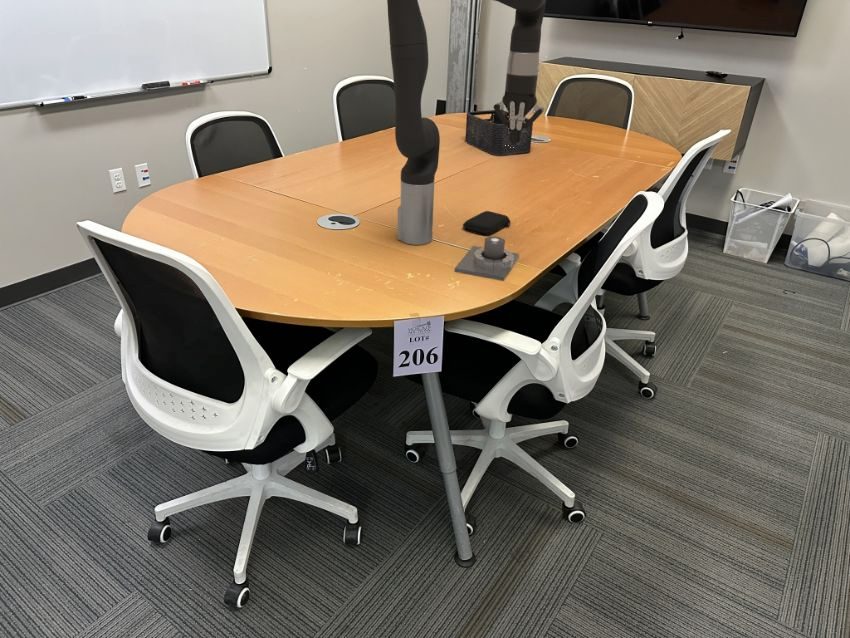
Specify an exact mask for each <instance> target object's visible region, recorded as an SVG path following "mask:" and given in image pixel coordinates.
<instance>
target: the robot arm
mask: <svg viewBox="0 0 850 638" xmlns="http://www.w3.org/2000/svg"><path fill="white" fill-rule="evenodd" d="M493 1H494V2H499V3H500V4H503V5H505V6H507V7H509V8H512V9H514V10H515V15H514V23H513V27H512V29H511V32H510V33H511V34H510V41H509V43H510V45H509V53H508V54H509V55H508V58H507V65H506V75H505V86H504V87H505V89H504V93H503V96H502V100H500V101H499V102H497V103H495V104H493V110H495V111H496V113H497V115H498V116H499V118H500V120H501V121H502V123H503V125H504V126H507V127H509V128H510V138H509V140H510V142H511V144H513V145H518V143H520V142H521V139H522V130H523V129H525V128H526V129H527V128H528V127H529V126H530V125H531V124H532V123H533V124H534V122H535V121H536V120H537V119H538V118H539V117H540V116H541V115H542V114H543V113H544V111H545V108H544V107H541V106H540V105H539V104H538V100H537V96H536V93H537V87H538V85H537V84H538V76H539V72H540V71H539V70H540V66H539V65H540V48H541V47H540V46H541V40H542V38H541V37H542V25H543V21H544V16H545V15H544V14H545V10H546V6H547V5H546V4H547V0H493ZM386 3H387V19H388V33H389V47H390V49H389V50H390V58H391V61H390V62H391V66H392V78H393V80H392V81H393V89H394V90H393V91H394V92H393V93H394V102H395V104H394V105H395V106H394V108H395V109H394V110H395V111H394V114H395V115H394V116H395V118H394V119H395V120H394V121H395V122H394V126H395V127H394V128H395V129H394V130H395V131H394V135H395V138H394V139H395V142H396V146H397V150H398V151H399V152H400V154H401V155H402V156H403V157H404V158H406V159H407V160H406V162H405V164H404V165H403V166H402V168H401V170H400V205H399V206H398V207H397V241H401V242H403V243H405V244H407V245H413V246H415V245H416V246H419V245H420V246H421V245H426V244H428V243H430V242H432V241H433V228H434V227H433V225H434V204H435V203H434V201H435V177H436V173H437V171H438V167H439V158H440V147H441V145H440V143H441V140H440V136H441V135H440V131H439V128H438V126H437V124H436V122H434V121H433V120H432V119H431V118H429V117H423V116H422V98H423V97H422V95H423V91H424V87H425V82H426V81H427V80H426V79H427V75H428V69H429V47H428V37H427V31H426V30H427V29H426V26H425V22H424V18H423V15H422V12H421V9H420V5H419V1H418V0H387V1H386ZM505 109H506V110H505ZM532 109H533V110H532ZM505 111H507V112H509V113H510V119H509V118H508V117H509V116H507V115H506V113H505ZM531 111H532V113H533V114H532V116H530V118H528V119H529V120H528V121H527V120H526V121H527V122H525V123H524V121H525V118H527V115H528V114H529V113H530V112H531ZM517 118H518V123H517ZM516 127H517V128H516ZM509 128H508V129H509Z"/></svg>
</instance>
